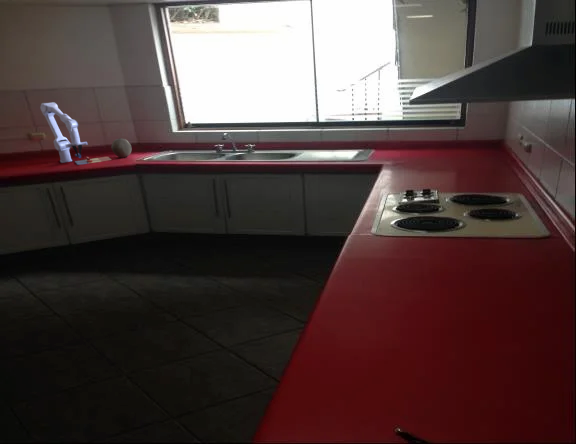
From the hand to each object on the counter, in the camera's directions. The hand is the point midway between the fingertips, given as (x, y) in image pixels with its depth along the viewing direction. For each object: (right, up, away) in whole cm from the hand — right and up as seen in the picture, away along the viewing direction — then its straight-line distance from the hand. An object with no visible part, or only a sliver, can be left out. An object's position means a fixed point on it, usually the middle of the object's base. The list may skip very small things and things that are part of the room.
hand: (79, 155), depth 311 cm
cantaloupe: (+28, 0, +13) cm, 31 cm away
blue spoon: (-1, -1, +2) cm, 2 cm away
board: (+7, -3, +7) cm, 11 cm away
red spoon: (+5, -3, +6) cm, 8 cm away
